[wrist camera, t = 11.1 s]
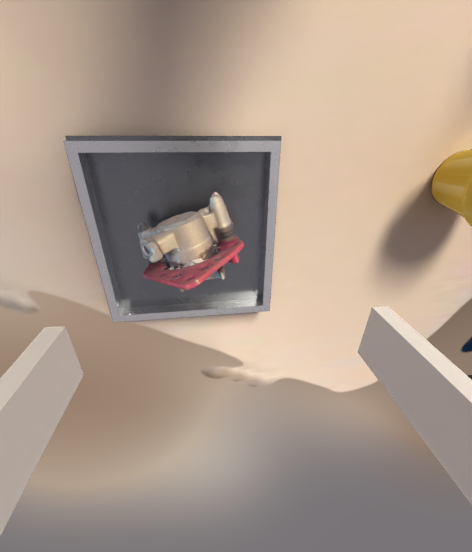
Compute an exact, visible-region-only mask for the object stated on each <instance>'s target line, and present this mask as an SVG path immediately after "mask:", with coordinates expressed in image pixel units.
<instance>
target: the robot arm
mask: <svg viewBox="0 0 472 552" xmlns="http://www.w3.org/2000/svg"><path fill="white" fill-rule="evenodd" d="M358 353H359V354H360V356H361V357H362V359H363V360H364V361H365V363H366V364H367V365H368V367H369V368H370V369H371V371H372V372H373V373H374V375H375V376H376V377H377V379H378V380H379V381H380V383H381V384H382V385H383V387H384V388H385V389H386V391H387V392H388V393H389V395H390V396H391V397H392V399H393V400H394V401H395V403H396V404H397V405H398V407H399V408H400V409H401V411H402V412H403V413H404V415H405V416H406V418H407V419H408V420H409V422H410V423H411V424H412V426H413V427H414V428H415V430H416V431H417V432H418V434H419V435H420V436H421V438H422V439H423V440H424V442H425V443H426V444H427V446H428V447H429V448H430V450H431V451H432V452H433V454H434V455H435V456H436V458H437V459H438V460H439V462H440V463H441V464H442V466H443V467H444V468H445V470H446V471H447V472H448V474H449V475H450V477H451V478H452V479H453V480H454V482H455V483H456V484H457V486H458V487H459V489H460V490H461V491H462V493H463V494H464V495H465V496H466V498H467V499H468V500H469V502H470V503H471V505H472V375H466V374H464V373H463V372H462V371H461V370H460V369H459V368H458V367H456V366H455V365H454V364H453V363H452V362H451V361H449V359H447V358H446V357H445V356H444V355H443V354H442V353H440V352H439V351H438V350H437V349H436V348H435V347H434V346H433V345H431V344H430V343H429V342H428V341H427V340H426V339H425V338H423V337H422V336H421V335H420V334H419V333H418V332H417V331H415V330H414V329H413V328H412V327H411V326H410V325H409V324H407V323H406V322H405V321H404V320H403V319H402V318H401V317H399V316H398V315H397V314H396V313H395V312H394V311H393V310H391V309H390V308H389V307H388V306H384V307H372V309H371V312H370V316H369V319H368V322H367V325H366V328H365V331H364V334H363V337H362V341H361V344H360V347H359V350H358ZM83 375H84V373H83V371H82V368H81V366H80V363H79V360H78V358H77V355H76V353H75V350H74V347H73V345H72V342H71V340H70V337H69V335H68V332H67V329H66V327H65V326H58V327H44V329H43V330H42V331H41V332H40V333H39V334H38V336H37V337H36V338H35V339H34V340H33V341H32V342H31V344H30V345H29V346H28V347H27V348H26V349H25V350H24V352H23V353H22V354H21V355H20V356H19V357H18V359H17V360H16V361H15V362H14V363H13V364H12V365H11V367H10V368H9V369H8V370H7V371H6V372H5V373H4V375H3V376H2V377H1V378H0V535H1V533H2V531H3V529H4V528H5V526H6V524H7V522H8V520H9V518H10V516H11V514H12V512H13V510H14V508H15V506H16V504H17V503H18V501H19V499H20V497H21V495H22V493H23V491H24V489H25V487H26V485H27V483H28V481H29V479H30V477H31V476H32V474H33V472H34V470H35V468H36V466H37V464H38V462H39V460H40V458H41V456H42V454H43V452H44V450H45V449H46V447H47V445H48V443H49V441H50V439H51V437H52V435H53V433H54V431H55V429H56V427H57V425H58V424H59V422H60V419H61V418H62V416H63V414H64V412H65V410H66V408H67V406H68V404H69V402H70V400H71V398H72V397H73V395H74V392H75V391H76V389H77V387H78V385H79V383H80V381H81V379H82V377H83Z"/></svg>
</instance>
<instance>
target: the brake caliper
mask: <svg viewBox="0 0 472 552" xmlns="http://www.w3.org/2000/svg"><path fill="white" fill-rule="evenodd" d="M137 227H138V236H139V238H140V247H141V251H142V254H143V257H144V258H145V259H148V260H149V265H148V267H147V268H146V269H145V271H144V272H143V277H144V278H146V279H148V280H152V281H156V282H159V283H161V284H166V285H168V286H173V287H176V288H180V291H181V292H184V291H185V290H189V289H193V288H195V287H197V286H199V285H200V284H201V283H203V282H204V281H205V280H209V279H215V278H221V279H222V280H224V279H225V269H224V265H225V264H227V263H228V261H229V262H231V263H238V262H239V256H238V253H239V252H240V251H241V250H242V249H243V248H244V243H243V242H242V241H241V240H240V239H239V238H238V236H237V235H236V232H235V227H234V225H233V223H232V221H231V219H230V217H229V214H228V211H227V208H226V205H225V203H224V201H223V199H222V197H221V196H220V195H219V194H218V193H217V192H214V193H213V194H212V197H211V198H210V203H209V206H208V207H205V208H202V209H200V210H199V211H198V212H193V211H190V212H186V213H183V214H180V215H176V216H174V217H171V218H169V219H166V220H164V221H163V222H160V223H159V224H158V225H157V226H156V227H154V228H151V227H149V226H147V225H146V224H145V223H143V222H141V223H139V224H138V226H137ZM178 276H180V277H178ZM176 277H178V278H176Z"/></svg>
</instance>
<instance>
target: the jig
mask: <svg viewBox="0 0 472 552" xmlns="http://www.w3.org/2000/svg"><path fill="white" fill-rule="evenodd" d="M66 140H67V141H64V145H65V149H66V152H67V156H68V159H69V163H70V167H71V170H72V174H73V178H74V181H75V185H76V189H77V192H78V196H79V200H80V203H81V207H82V210H83V214H84V218H85V221H86V225H87V229H88V232H89V236H90V240H91V243H92V247H93V250H94V254H95V258H96V261H97V265H98V269H99V272H100V276H101V280H102V283H103V287H104V290H105V294H106V298H107V301H108V305H109V309H110V312H111V316H112V320H113V322H127V321H140V320H154V319H167V318H181V317H194V316H208V315H222V314H235V313H249V312H262V311H270V299H271V284H272V269H273V254H274V239H275V224H276V209H277V194H278V179H279V164H280V150H281V136H66ZM214 192H217V193H218V194H219V195H220V196H221V197H222V199H223V201H224V203H225V205H226V208H227V211H228V214H229V217H230V219H231V221H232V223H233V225H234V227H235V232H236V235H237V236H238V238H239V239H240V240H241V241H242V242H243V243H244V248H243V249H242V250H241V251H240V252H239V253H238V256H239V262H238V263H231V262H229V261H228V263H227V264H225V265H224V269H225V279H224V280H222V279H221V278H215V279H209V280H205V281H204V282H203V283H201V284H200V285H199V286H197V287H195V288H193V289H189V290H185V291H184V292H181V291H180V288H176V287H173V286H168V285H166V284H161V283H159V282H156V281H152V280H148V279H146V278H144V277H143V272H144V271H145V269H146V268H147V267H148V265H149V260H148V259H145V258H144V257H143V254H142V251H141V247H140V238H139V236H138V227H137V226H138V224H139V223H141V222H143V223H145V224H146V225H147V226H149V227H151V228H154V227H156V226H157V225H158V224H159V223H160V222H163V221H164V220H166V219H169V218H171V217H174V216H176V215H180V214H183V213H186V212H190V211H193V212H198V211H199V210H200V209H202V208H205V207H208V206H209V203H210V198H211V197H212V194H213V193H214ZM178 277H180V276H178ZM178 277H176V278H178Z"/></svg>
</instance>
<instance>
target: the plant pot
mask: <svg viewBox="0 0 472 552" xmlns="http://www.w3.org/2000/svg"><path fill="white" fill-rule="evenodd" d="M431 189H432V194H433V197H434V199H435V200H436V201H437V202H438V203H440V204H442V205H443V206H445V207H447V208H449V209H451V210H453V211H454V212H456V213H458V214H460V215H461V216H463V217H465V219H466V221H467V222H468V224H469V225H470V226H472V149H470V150H465V151H461V152H458V153H456V154H454V155H452V156H450V157H449V158H448V159H446V160H445V161H444V162H443V163H442V164H441V166H440V167H439V168H438V170H437V171H436V173H435V175H434V177H433V180H432V188H431Z"/></svg>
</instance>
